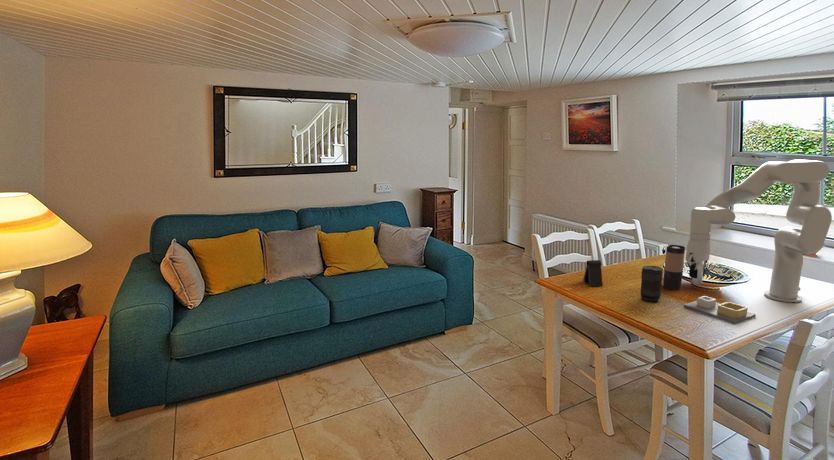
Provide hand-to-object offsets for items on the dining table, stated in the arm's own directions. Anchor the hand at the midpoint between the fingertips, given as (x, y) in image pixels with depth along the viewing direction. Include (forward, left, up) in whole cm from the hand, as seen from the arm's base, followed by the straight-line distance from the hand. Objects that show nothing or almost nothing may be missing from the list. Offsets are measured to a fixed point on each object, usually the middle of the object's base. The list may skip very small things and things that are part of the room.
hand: (696, 276), depth 192 cm
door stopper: (+24, -35, -10) cm, 44 cm away
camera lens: (+20, -7, -10) cm, 24 cm away
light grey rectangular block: (0, 0, -3) cm, 3 cm away
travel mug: (-4, -13, -10) cm, 17 cm away
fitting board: (+8, +15, -10) cm, 19 cm away
